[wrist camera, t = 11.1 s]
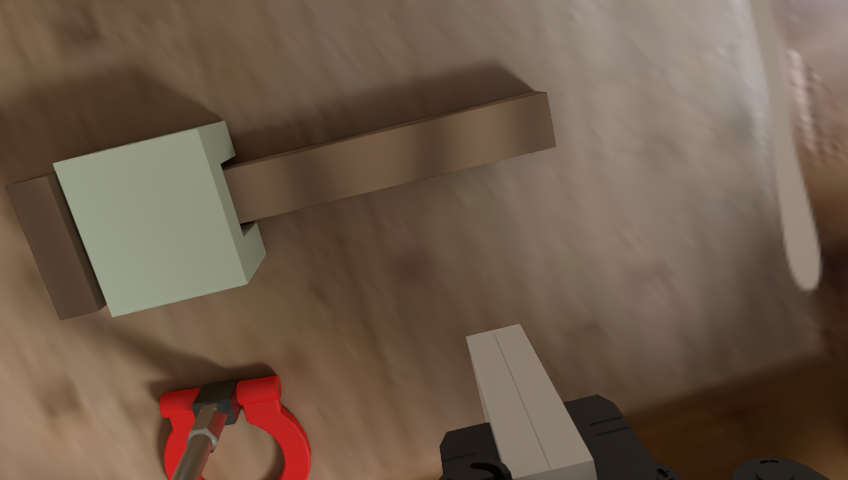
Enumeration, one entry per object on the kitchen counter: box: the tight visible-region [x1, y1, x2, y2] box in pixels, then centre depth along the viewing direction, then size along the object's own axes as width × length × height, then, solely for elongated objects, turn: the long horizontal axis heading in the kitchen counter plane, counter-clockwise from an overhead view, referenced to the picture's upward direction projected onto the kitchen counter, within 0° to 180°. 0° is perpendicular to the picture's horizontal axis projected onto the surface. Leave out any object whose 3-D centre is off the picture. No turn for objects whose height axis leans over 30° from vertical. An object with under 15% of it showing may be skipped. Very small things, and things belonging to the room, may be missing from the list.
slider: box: [53, 121, 266, 317], centre depth 34 cm, size 7×8×6 cm
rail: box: [5, 91, 556, 320], centre depth 34 cm, size 27×7×6 cm, turn 103°
